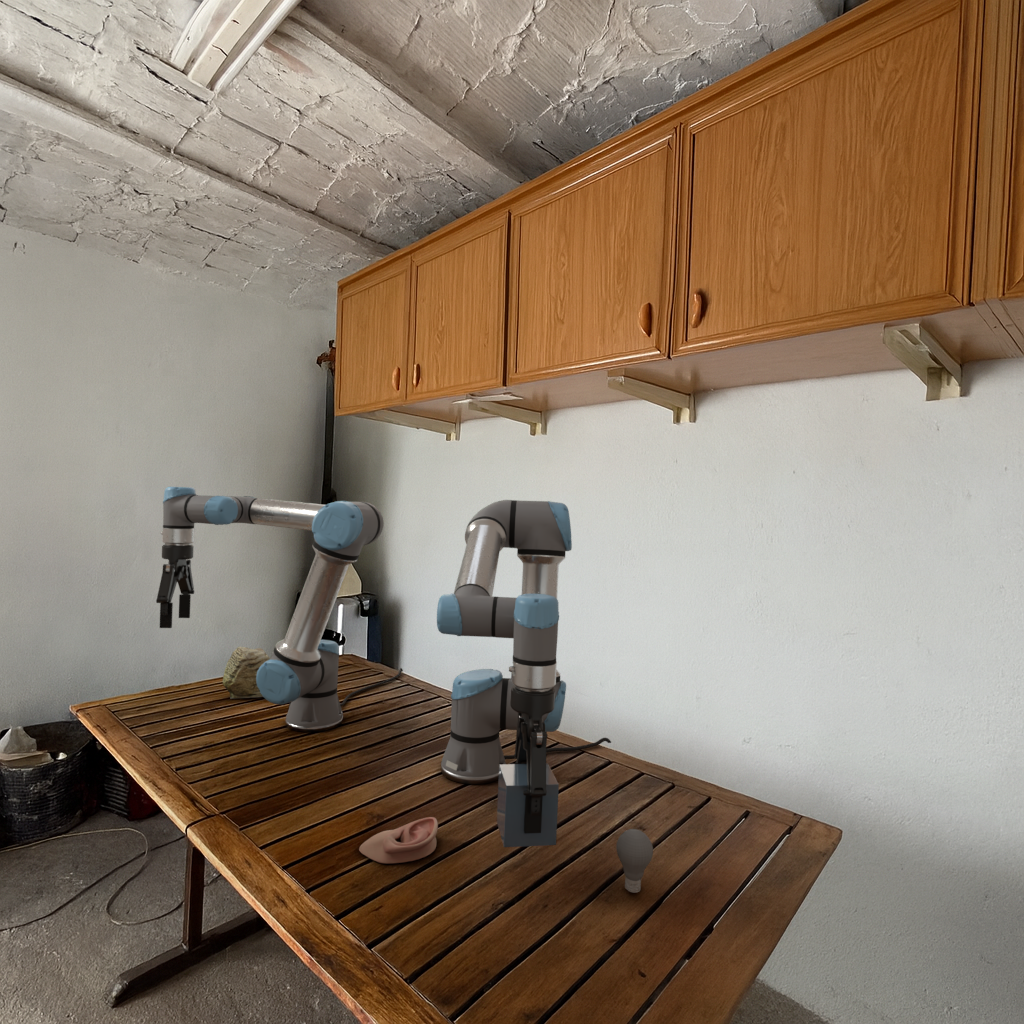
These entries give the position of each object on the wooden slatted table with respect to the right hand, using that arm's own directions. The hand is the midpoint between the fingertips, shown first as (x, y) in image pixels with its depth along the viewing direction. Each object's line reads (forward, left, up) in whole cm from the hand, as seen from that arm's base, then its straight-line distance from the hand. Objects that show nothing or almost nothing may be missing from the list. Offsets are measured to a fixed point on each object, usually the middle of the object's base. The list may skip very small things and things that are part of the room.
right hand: (527, 818), depth 108 cm
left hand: (+53, -100, +17) cm, 115 cm away
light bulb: (-15, +11, -10) cm, 21 cm away
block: (0, 0, -3) cm, 3 cm away
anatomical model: (+17, -17, -10) cm, 26 cm away
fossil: (+31, -118, -10) cm, 123 cm away
